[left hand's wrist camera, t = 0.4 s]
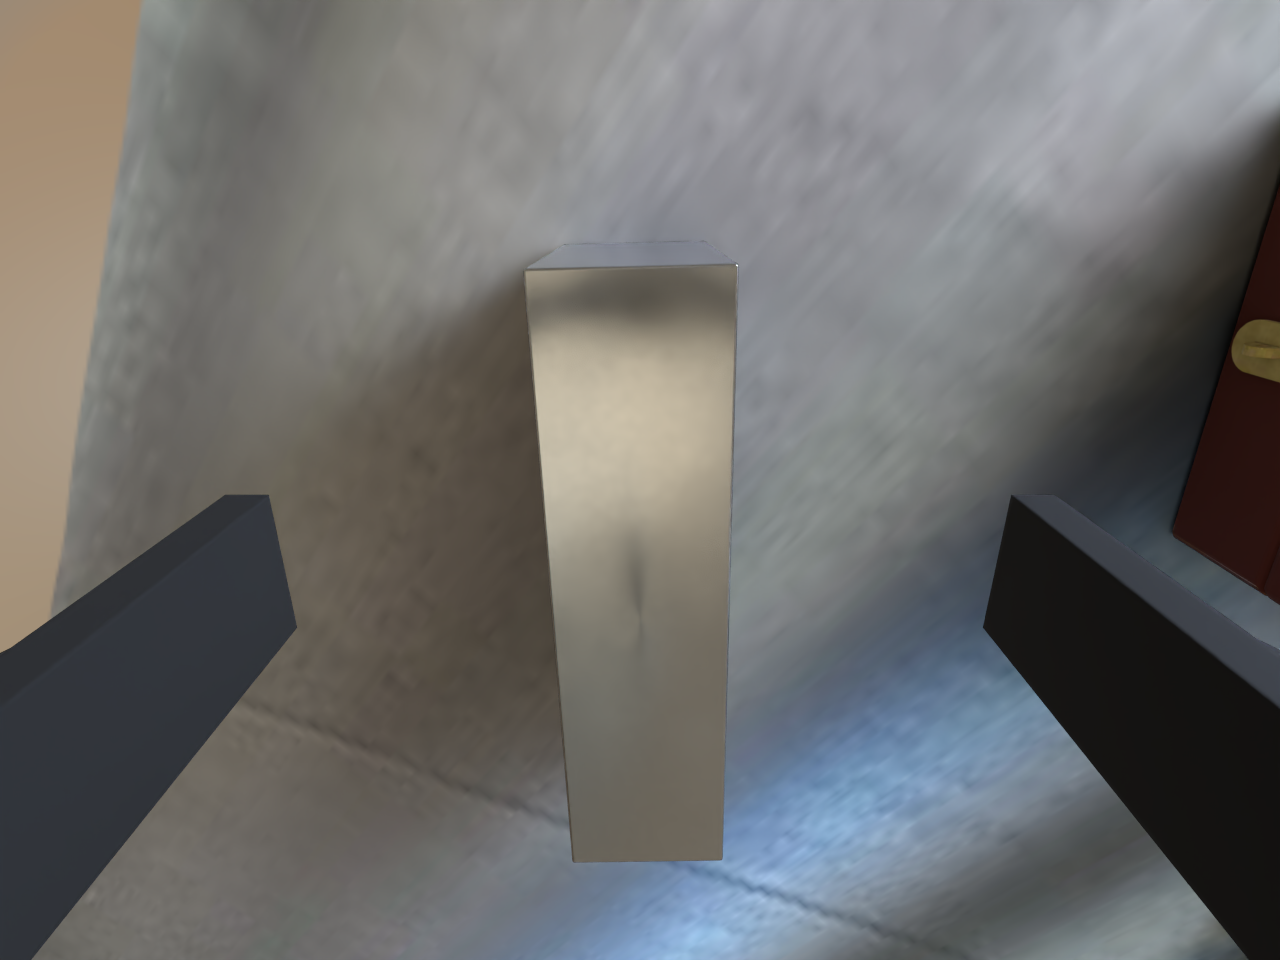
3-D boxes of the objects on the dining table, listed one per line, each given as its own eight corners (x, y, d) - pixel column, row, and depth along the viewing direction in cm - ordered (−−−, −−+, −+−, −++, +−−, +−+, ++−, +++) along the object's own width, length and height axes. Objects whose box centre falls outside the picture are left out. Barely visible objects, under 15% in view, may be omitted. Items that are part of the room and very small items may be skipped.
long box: (562, 244, 31) (522, 268, 21) (705, 240, 31) (739, 263, 21) (590, 688, 41) (572, 863, 30) (701, 686, 41) (722, 861, 30)
